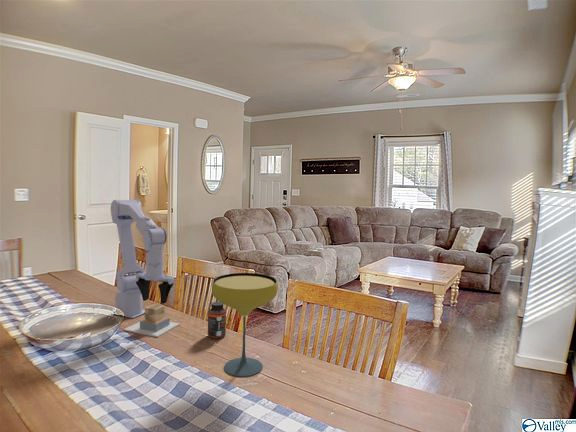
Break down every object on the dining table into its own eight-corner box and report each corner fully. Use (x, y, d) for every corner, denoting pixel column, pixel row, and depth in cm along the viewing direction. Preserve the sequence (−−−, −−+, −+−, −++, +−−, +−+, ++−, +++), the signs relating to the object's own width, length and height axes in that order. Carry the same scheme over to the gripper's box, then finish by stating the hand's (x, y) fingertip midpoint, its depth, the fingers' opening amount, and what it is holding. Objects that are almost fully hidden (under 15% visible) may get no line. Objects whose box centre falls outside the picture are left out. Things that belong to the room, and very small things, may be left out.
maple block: (145, 320, 132) (145, 307, 132) (153, 316, 136) (153, 304, 136) (155, 322, 130) (155, 309, 130) (164, 318, 135) (164, 305, 134)
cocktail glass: (284, 359, 113) (287, 276, 111) (259, 390, 96) (261, 293, 94) (230, 348, 119) (231, 270, 117) (197, 375, 102) (198, 284, 100)
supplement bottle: (223, 339, 126) (224, 306, 125) (205, 339, 126) (206, 305, 125) (227, 332, 132) (227, 300, 131) (210, 332, 132) (210, 300, 131)
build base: (124, 330, 131) (123, 321, 131) (148, 319, 142) (147, 310, 142) (157, 337, 126) (157, 327, 126) (179, 324, 137) (179, 316, 137)
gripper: (129, 263, 130) (129, 301, 132) (164, 267, 125) (164, 307, 127) (143, 259, 137) (143, 296, 138) (177, 263, 132) (177, 301, 133)
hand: (154, 301), depth 133 cm, fingers open, 7 cm apart
